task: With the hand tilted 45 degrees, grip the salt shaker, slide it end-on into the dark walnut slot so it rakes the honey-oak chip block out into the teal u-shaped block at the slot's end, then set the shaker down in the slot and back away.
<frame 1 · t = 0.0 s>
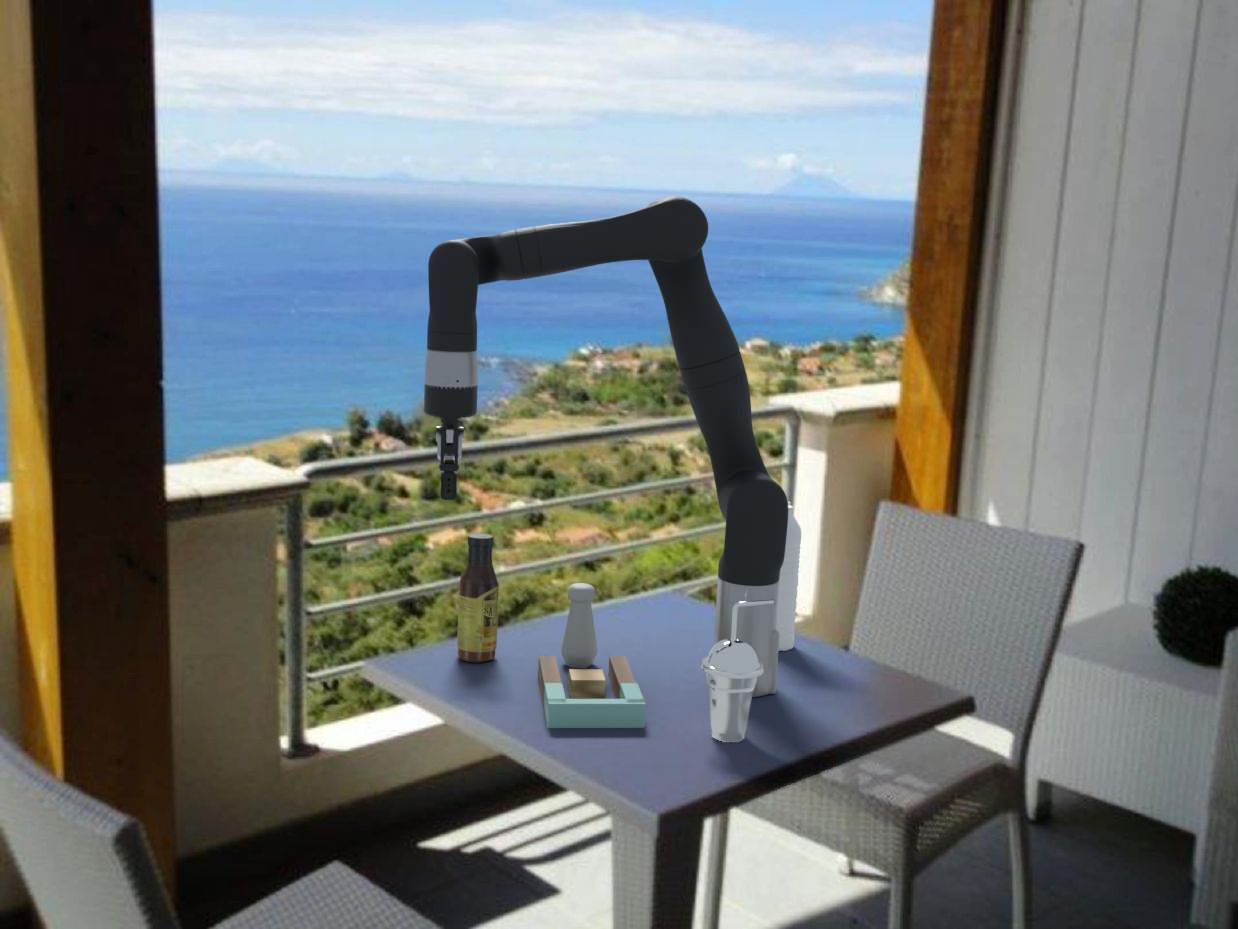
hand: (448, 493, 189), 29 cm above the table, tool pointing down, fingers open, 8 cm apart
salt shaker: (578, 665, 207), on the table
cup with straw: (729, 738, 179), on the table
sauce bottle: (476, 659, 208), on the table
chip block: (586, 694, 194), on the table
teal u-shaped block: (593, 716, 185), on the table
slot: (585, 690, 195), on the table
water bottle: (774, 649, 220), on the table
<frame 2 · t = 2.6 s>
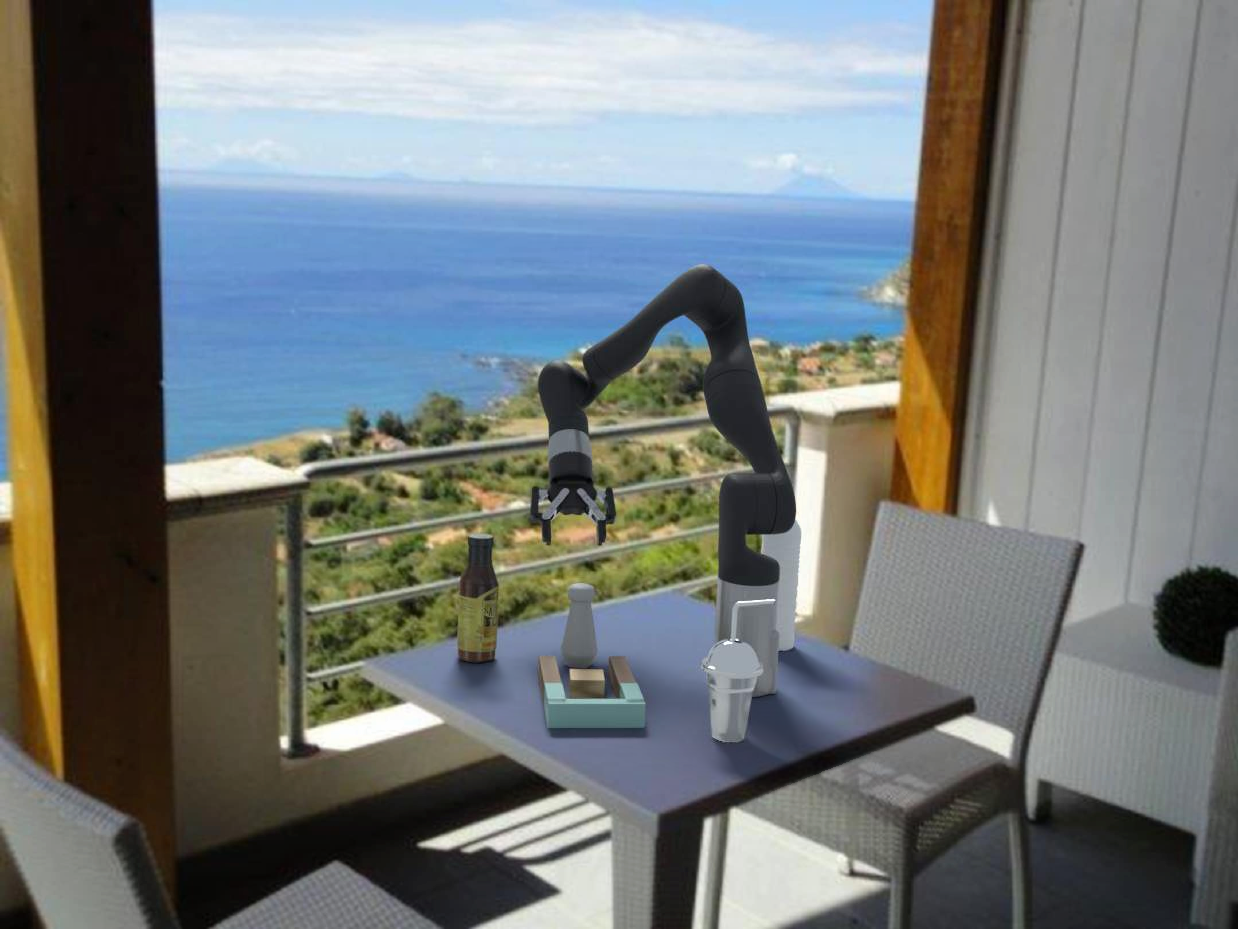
hand: (574, 543, 215), 17 cm above the table, tool tilted 45°, fingers open, 8 cm apart
nothing on the table moved.
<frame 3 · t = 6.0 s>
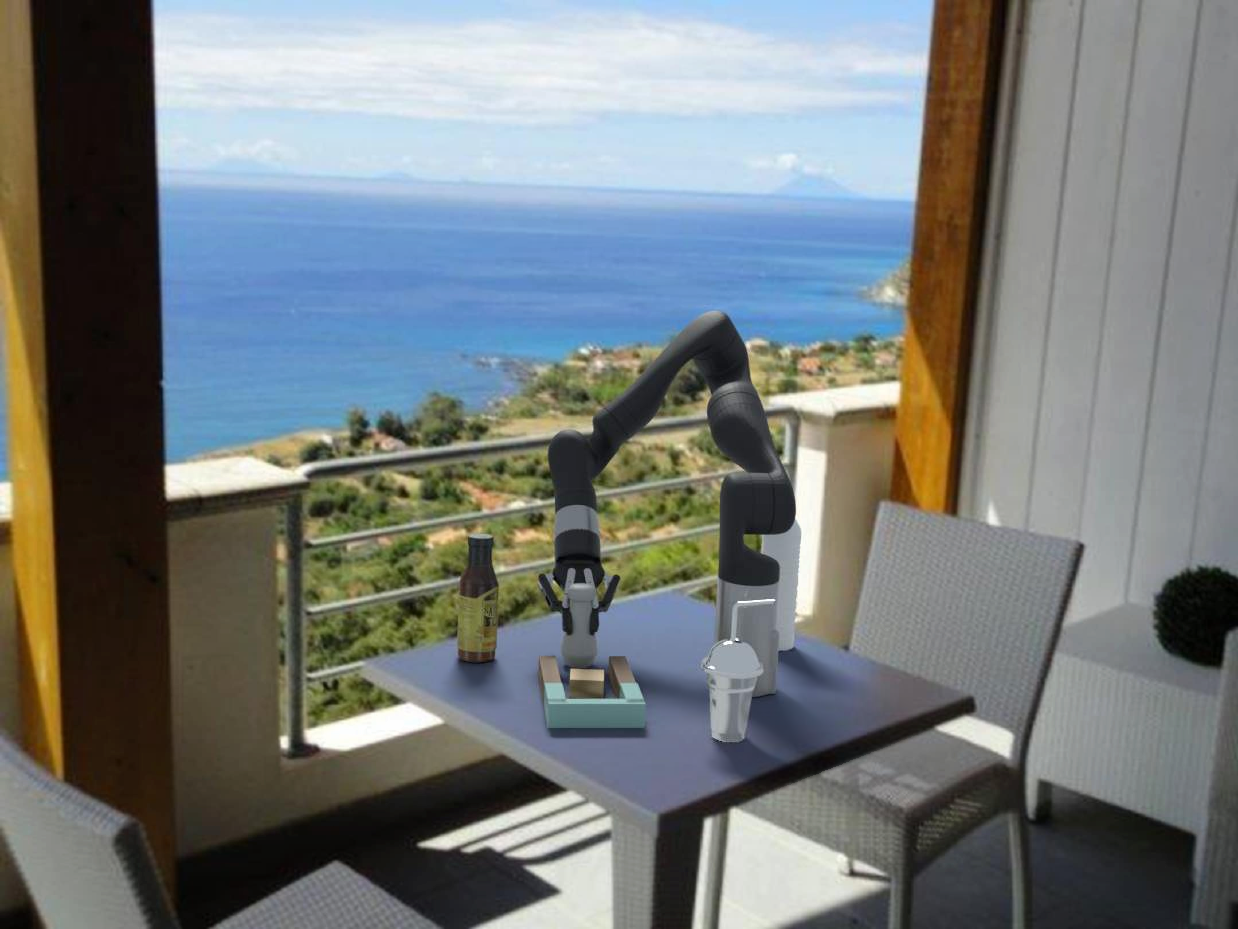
hand: (580, 632, 204), 6 cm above the table, tool tilted 45°, fingers closed on salt shaker, 3 cm apart
salt shaker: (578, 665, 207), on the table, touching gripper
everything else where it was.
when the fingers open (7 cm above the table, at t = 11.0 s): salt shaker drops 1 cm, on the table.
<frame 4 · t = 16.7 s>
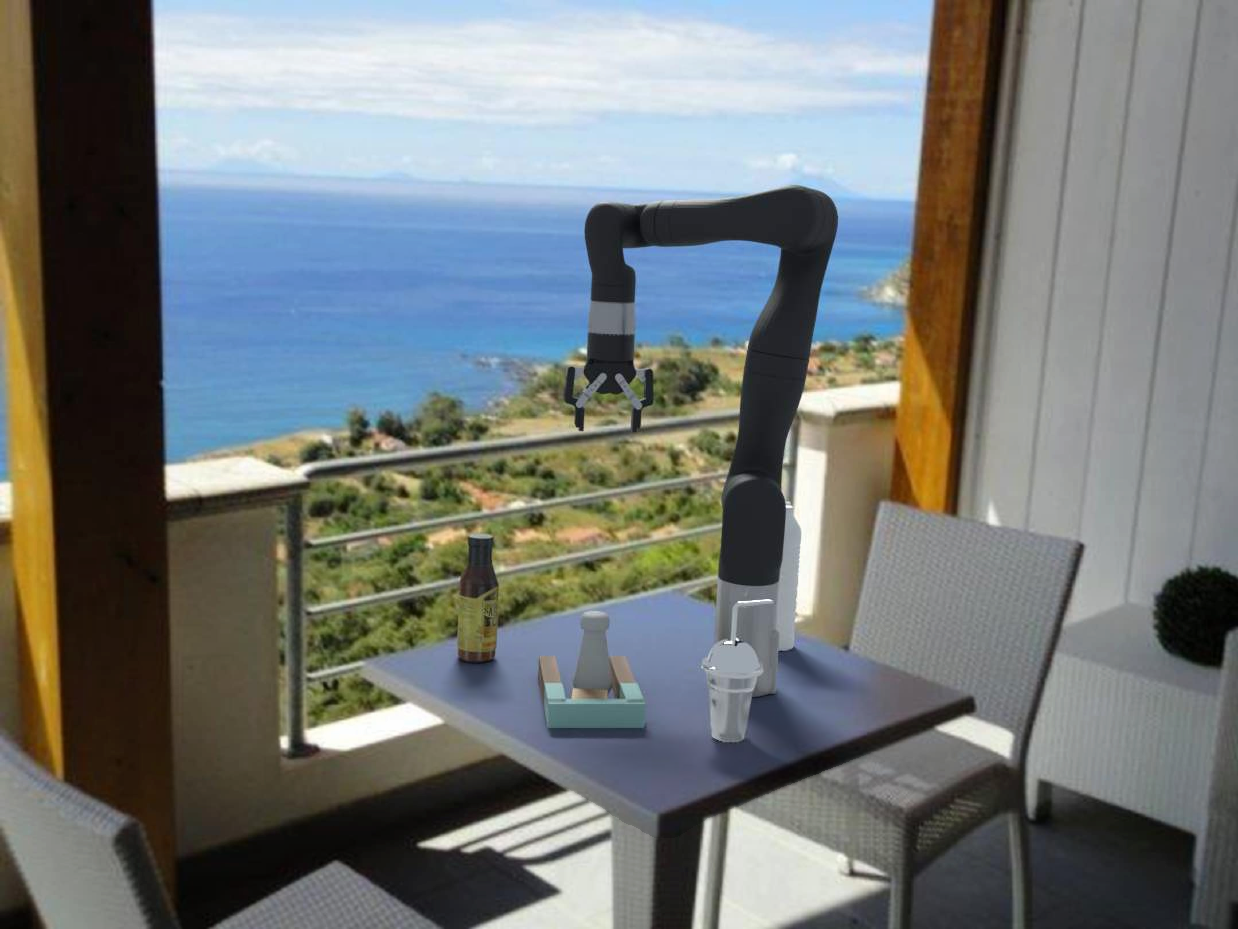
hand: (607, 431, 210), 36 cm above the table, tool pointing down, fingers open, 8 cm apart
salt shaker: (591, 699, 192), on the table
chip block: (588, 715, 186), on the table
everything else where it was.
at the end: chip block inside the target area on the teal u-shaped block (0.5 cm from its centre), point 0.0 cm above the teal u-shaped block's base; salt shaker inside the target area (0.8 cm from its centre), on the table; salt shaker tilted 0° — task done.
